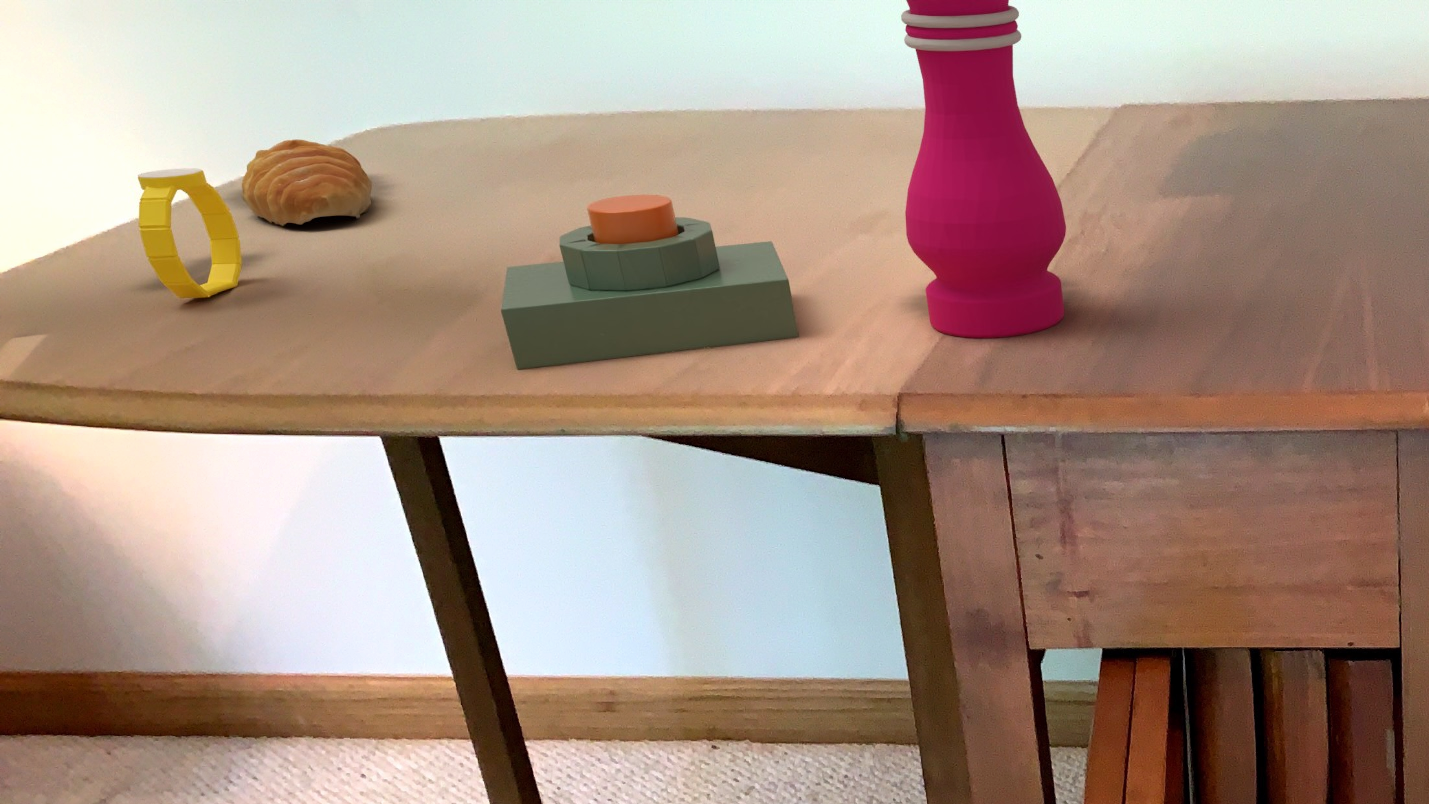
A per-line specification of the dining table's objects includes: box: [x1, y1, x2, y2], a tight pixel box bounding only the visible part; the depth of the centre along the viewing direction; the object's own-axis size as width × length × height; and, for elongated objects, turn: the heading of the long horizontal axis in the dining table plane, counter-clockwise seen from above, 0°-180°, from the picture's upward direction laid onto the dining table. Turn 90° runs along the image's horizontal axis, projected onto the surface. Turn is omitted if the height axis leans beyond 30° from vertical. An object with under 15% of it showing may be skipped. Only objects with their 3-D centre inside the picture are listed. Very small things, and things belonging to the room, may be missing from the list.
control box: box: [500, 216, 800, 371], centre depth 79 cm, size 12×8×4 cm, turn 112°
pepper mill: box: [900, 0, 1067, 339], centre depth 75 cm, size 7×7×20 cm
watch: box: [137, 167, 243, 299], centre depth 85 cm, size 6×3×6 cm, turn 4°
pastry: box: [241, 139, 373, 227], centre depth 101 cm, size 9×7×4 cm
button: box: [586, 194, 679, 244], centre depth 77 cm, size 4×4×2 cm
